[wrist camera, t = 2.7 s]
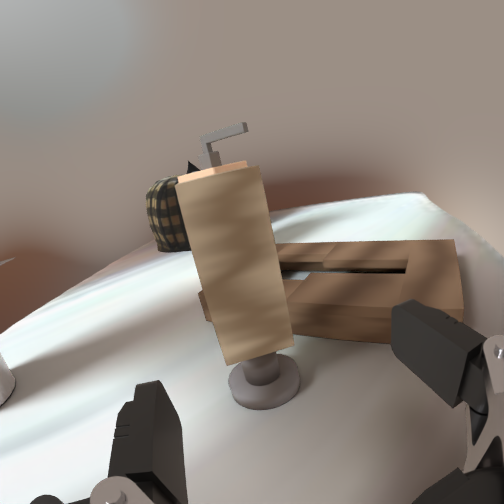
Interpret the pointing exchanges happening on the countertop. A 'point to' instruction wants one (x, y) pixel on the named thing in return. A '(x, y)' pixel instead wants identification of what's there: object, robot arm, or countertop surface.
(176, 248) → the decorative pumpkin
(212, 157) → the soap dispenser
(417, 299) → the walnut keyhole board
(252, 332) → the birch peg
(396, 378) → the countertop surface
